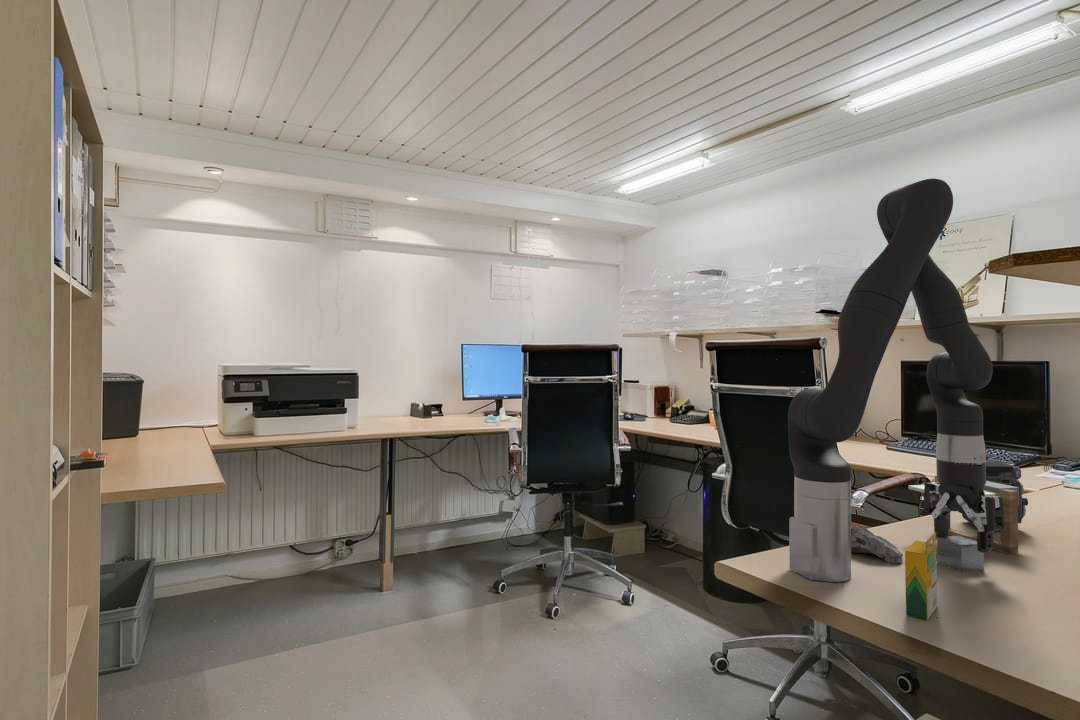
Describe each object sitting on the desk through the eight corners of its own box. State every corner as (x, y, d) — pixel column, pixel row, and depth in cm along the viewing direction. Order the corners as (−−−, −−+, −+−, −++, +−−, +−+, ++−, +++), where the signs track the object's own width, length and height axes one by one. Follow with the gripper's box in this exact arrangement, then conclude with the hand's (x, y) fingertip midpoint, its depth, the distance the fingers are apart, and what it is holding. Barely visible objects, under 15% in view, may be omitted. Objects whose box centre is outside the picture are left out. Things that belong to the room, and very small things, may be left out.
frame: (1010, 554, 115) (1009, 491, 115) (935, 530, 132) (934, 475, 132) (1018, 553, 116) (1017, 491, 116) (942, 530, 132) (942, 475, 132)
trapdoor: (956, 510, 115) (956, 492, 115) (904, 496, 127) (904, 480, 128) (1026, 506, 119) (1026, 488, 119) (969, 493, 131) (969, 477, 131)
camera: (1032, 535, 128) (1032, 468, 128) (976, 531, 131) (975, 465, 132) (1011, 523, 138) (1011, 460, 138) (959, 519, 141) (959, 458, 141)
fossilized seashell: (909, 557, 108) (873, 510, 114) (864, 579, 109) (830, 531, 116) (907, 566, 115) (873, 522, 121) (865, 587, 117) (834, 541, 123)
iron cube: (961, 572, 105) (961, 545, 105) (937, 563, 110) (937, 537, 110) (983, 570, 106) (983, 543, 106) (958, 561, 111) (958, 535, 111)
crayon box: (915, 601, 92) (915, 528, 92) (937, 606, 90) (937, 531, 90) (904, 615, 87) (904, 537, 87) (927, 621, 85) (927, 542, 85)
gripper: (911, 453, 115) (913, 535, 115) (980, 465, 101) (982, 558, 101) (943, 451, 116) (944, 532, 116) (1015, 463, 102) (1017, 555, 102)
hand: (962, 544), depth 108 cm, fingers open, 8 cm apart
